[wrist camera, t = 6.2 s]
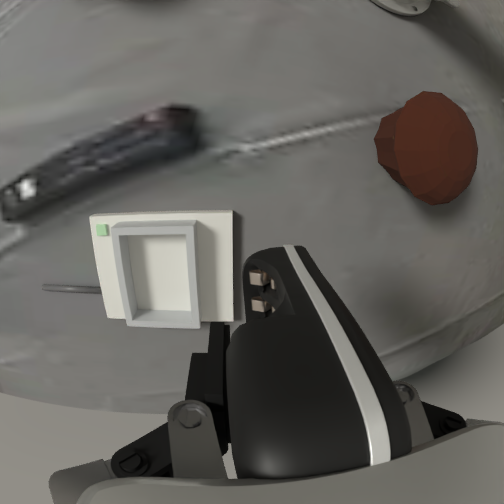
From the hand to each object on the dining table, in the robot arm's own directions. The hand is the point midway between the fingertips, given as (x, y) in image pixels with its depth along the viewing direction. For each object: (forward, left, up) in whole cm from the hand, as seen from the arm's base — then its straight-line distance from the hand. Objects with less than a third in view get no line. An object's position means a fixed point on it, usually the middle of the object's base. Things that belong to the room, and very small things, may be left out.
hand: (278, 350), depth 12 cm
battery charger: (0, 0, -4) cm, 4 cm away
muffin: (-18, -10, -22) cm, 30 cm away
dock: (+15, +5, -21) cm, 27 cm away
